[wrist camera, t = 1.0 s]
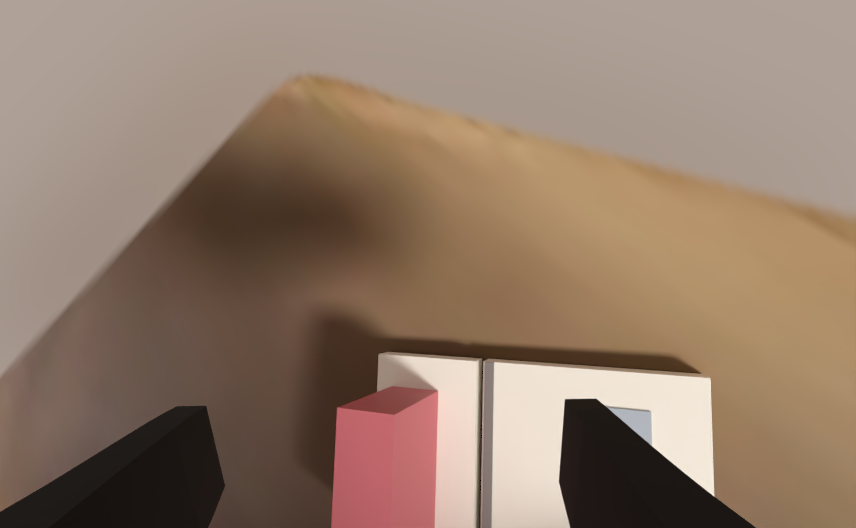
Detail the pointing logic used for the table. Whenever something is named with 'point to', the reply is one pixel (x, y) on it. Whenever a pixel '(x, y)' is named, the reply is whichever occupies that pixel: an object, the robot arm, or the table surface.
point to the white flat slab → (543, 424)
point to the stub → (411, 446)
